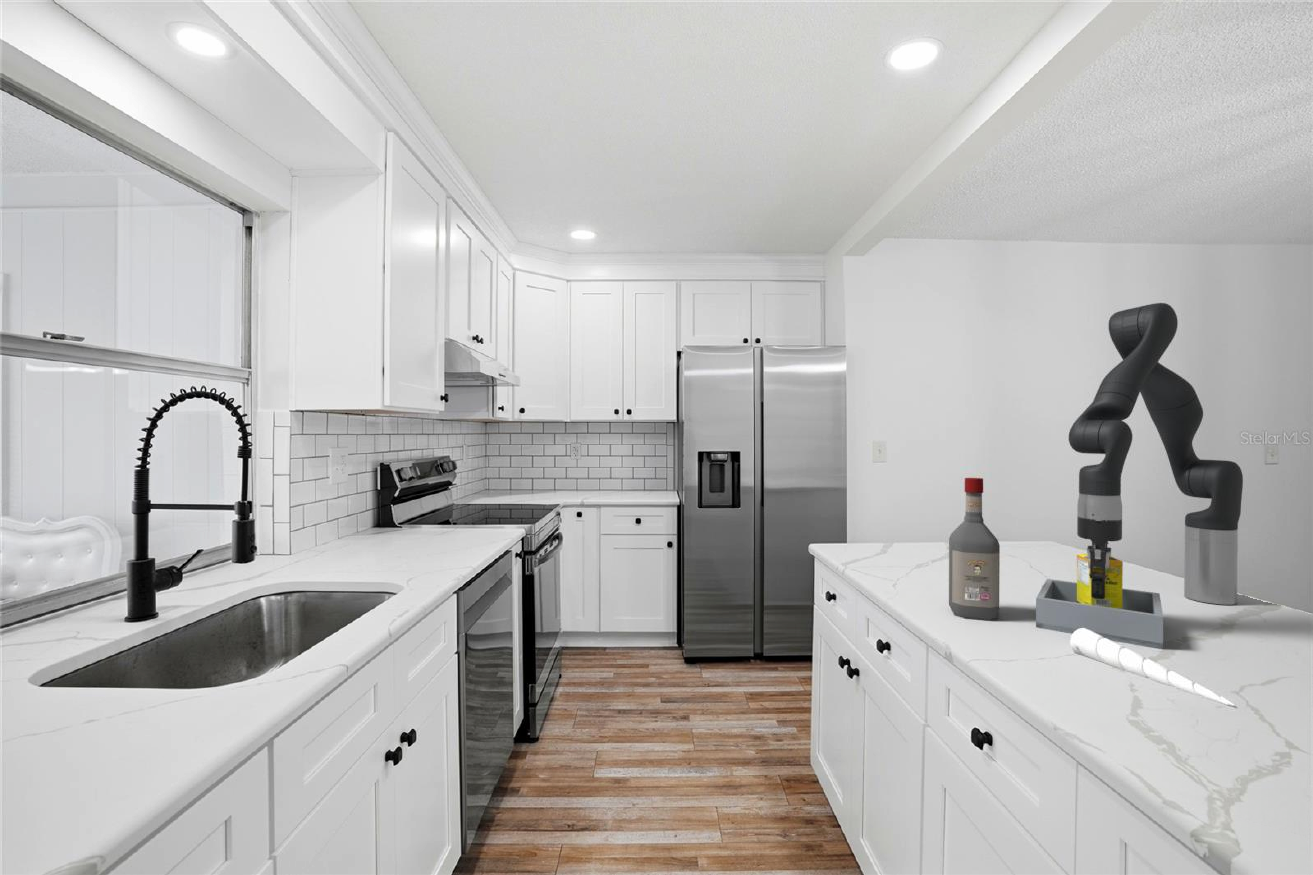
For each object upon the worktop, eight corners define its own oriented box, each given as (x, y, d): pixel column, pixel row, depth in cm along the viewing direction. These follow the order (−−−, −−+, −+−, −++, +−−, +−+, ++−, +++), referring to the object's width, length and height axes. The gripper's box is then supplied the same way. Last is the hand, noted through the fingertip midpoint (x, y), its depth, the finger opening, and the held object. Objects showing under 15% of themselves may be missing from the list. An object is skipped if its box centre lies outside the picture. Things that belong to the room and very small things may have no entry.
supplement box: (1123, 614, 121) (1123, 560, 121) (1090, 612, 123) (1090, 559, 122) (1107, 605, 127) (1107, 554, 127) (1076, 604, 128) (1076, 553, 128)
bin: (1046, 604, 139) (1047, 578, 139) (1159, 621, 127) (1159, 593, 126) (1035, 627, 123) (1036, 598, 123) (1162, 649, 111) (1163, 616, 111)
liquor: (1001, 622, 127) (1002, 480, 126) (953, 617, 130) (954, 479, 129) (992, 609, 135) (992, 477, 135) (947, 605, 138) (948, 476, 138)
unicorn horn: (1216, 712, 87) (1217, 679, 87) (1067, 653, 110) (1067, 627, 110) (1240, 709, 88) (1240, 676, 88) (1087, 651, 111) (1087, 625, 111)
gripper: (1079, 510, 133) (1079, 583, 133) (1074, 518, 121) (1074, 598, 122) (1122, 513, 128) (1122, 589, 128) (1121, 522, 117) (1121, 605, 117)
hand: (1098, 593), depth 125 cm, fingers closed on supplement box, 8 cm apart
